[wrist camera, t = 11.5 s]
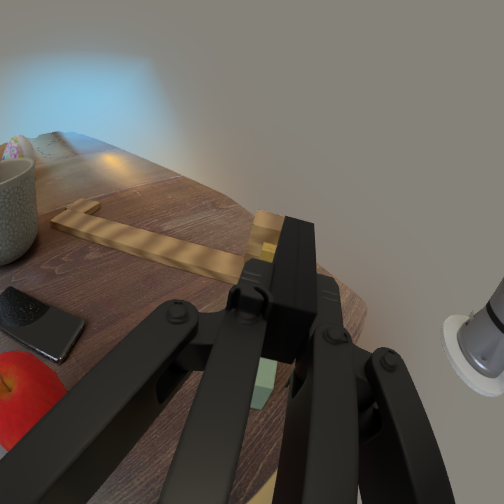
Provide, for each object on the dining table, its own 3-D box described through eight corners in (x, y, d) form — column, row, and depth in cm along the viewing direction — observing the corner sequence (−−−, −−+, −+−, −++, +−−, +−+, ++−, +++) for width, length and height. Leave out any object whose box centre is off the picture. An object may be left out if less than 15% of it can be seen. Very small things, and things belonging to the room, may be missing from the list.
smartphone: (59, 362, 23) (-18, 314, 23) (62, 367, 24) (-15, 320, 23) (86, 319, 30) (9, 284, 29) (88, 325, 30) (11, 289, 30)
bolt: (280, 261, 42) (295, 209, 37) (270, 319, 31) (292, 257, 27) (261, 256, 42) (274, 204, 38) (245, 313, 31) (261, 249, 27)
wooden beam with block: (290, 258, 54) (308, 202, 47) (285, 306, 42) (309, 238, 35) (81, 204, 56) (80, 155, 49) (41, 230, 44) (34, 174, 37)
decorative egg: (-2, 186, 55) (-6, 140, 48) (23, 173, 66) (21, 130, 58) (16, 190, 55) (12, 140, 47) (43, 176, 66) (42, 130, 58)
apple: (27, 390, 19) (-22, 316, 13) (96, 404, 22) (61, 332, 16) (16, 463, 12) (-56, 410, 6) (94, 485, 14) (37, 451, 8)
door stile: (278, 305, 42) (287, 279, 39) (261, 410, 26) (273, 389, 24) (240, 294, 42) (246, 268, 39) (207, 396, 27) (211, 373, 24)
